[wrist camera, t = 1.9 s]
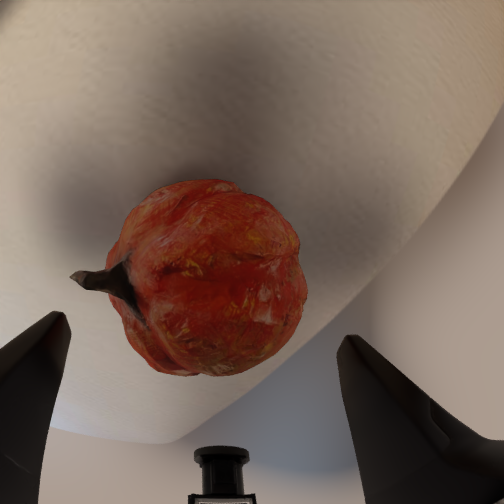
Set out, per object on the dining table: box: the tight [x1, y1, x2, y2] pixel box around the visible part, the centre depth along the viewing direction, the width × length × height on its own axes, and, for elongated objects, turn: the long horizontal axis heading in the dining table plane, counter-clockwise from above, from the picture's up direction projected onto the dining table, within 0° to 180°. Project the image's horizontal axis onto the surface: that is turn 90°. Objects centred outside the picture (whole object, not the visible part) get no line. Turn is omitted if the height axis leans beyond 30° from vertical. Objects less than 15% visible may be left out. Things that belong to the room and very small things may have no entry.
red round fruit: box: [70, 179, 308, 377], centre depth 11 cm, size 7×7×10 cm
